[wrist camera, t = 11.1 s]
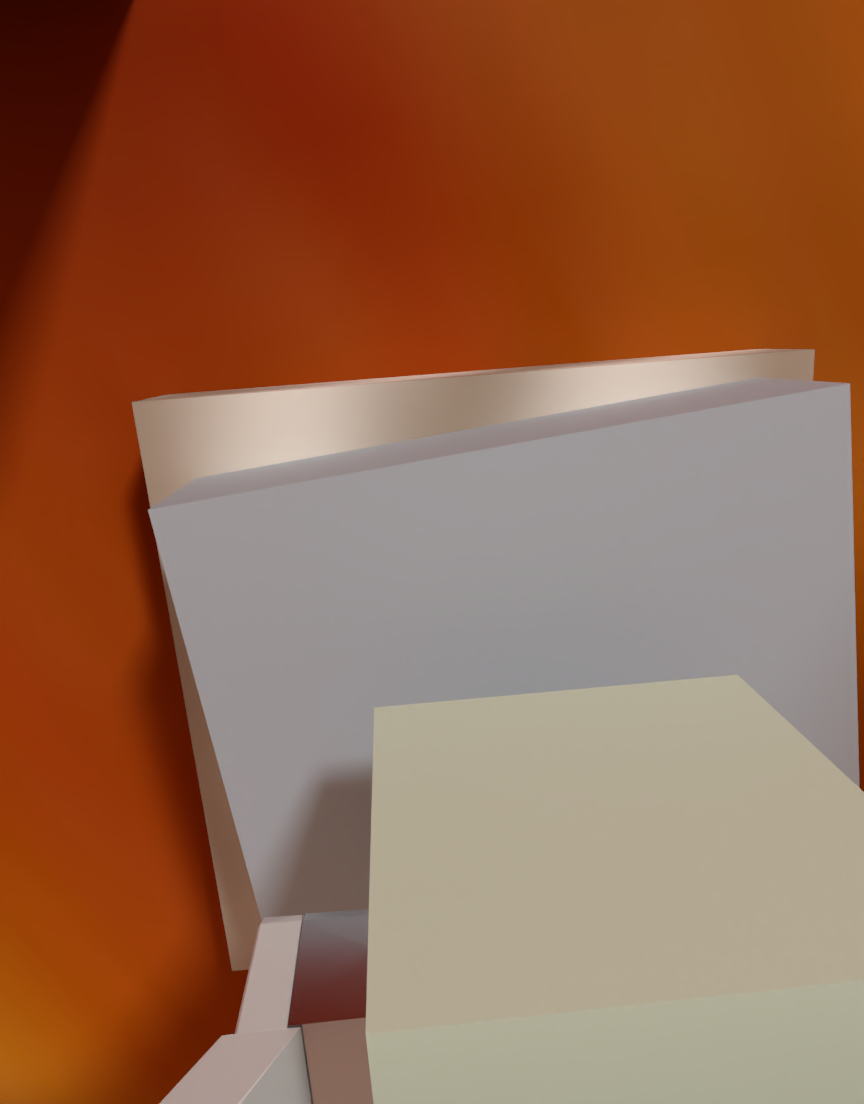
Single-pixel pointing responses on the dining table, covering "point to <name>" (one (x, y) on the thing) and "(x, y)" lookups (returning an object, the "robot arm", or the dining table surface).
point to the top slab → (507, 592)
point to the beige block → (613, 902)
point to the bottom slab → (360, 422)
